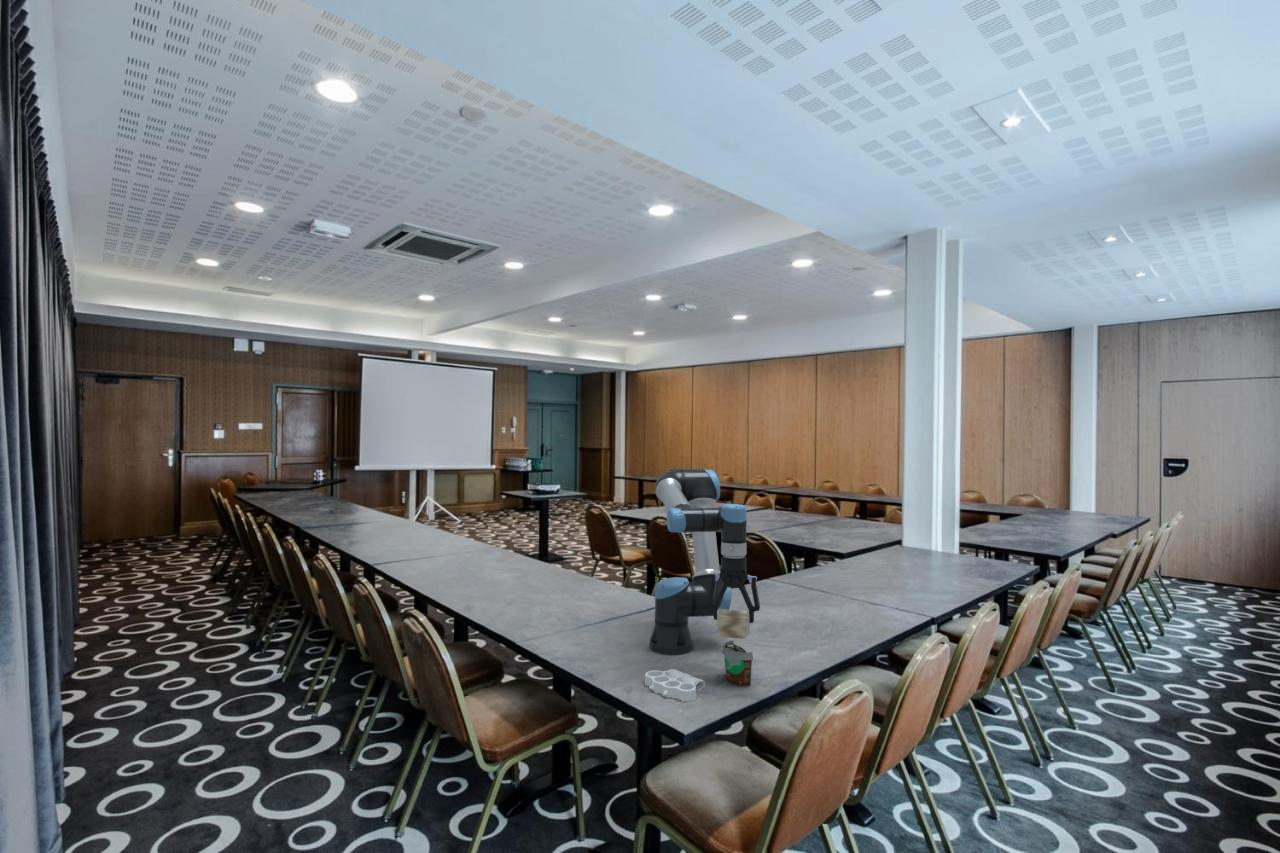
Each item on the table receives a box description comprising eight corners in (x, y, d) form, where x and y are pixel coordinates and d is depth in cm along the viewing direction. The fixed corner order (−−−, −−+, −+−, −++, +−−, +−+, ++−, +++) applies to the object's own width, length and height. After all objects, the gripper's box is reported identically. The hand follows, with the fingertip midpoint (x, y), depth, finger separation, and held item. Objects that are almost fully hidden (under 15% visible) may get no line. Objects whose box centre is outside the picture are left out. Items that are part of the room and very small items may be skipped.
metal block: (718, 636, 179) (718, 616, 180) (722, 628, 187) (722, 609, 187) (745, 639, 177) (745, 618, 177) (748, 631, 185) (748, 611, 185)
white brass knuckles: (713, 692, 175) (678, 708, 165) (668, 674, 188) (634, 687, 178) (713, 680, 175) (679, 695, 165) (669, 663, 188) (634, 676, 178)
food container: (714, 674, 187) (714, 641, 187) (732, 671, 189) (732, 639, 190) (734, 690, 176) (734, 655, 176) (753, 687, 178) (753, 652, 178)
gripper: (697, 556, 183) (696, 632, 182) (767, 560, 176) (767, 639, 176) (702, 551, 190) (702, 625, 189) (770, 556, 184) (770, 631, 183)
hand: (733, 632), depth 183 cm, fingers closed on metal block, 8 cm apart
